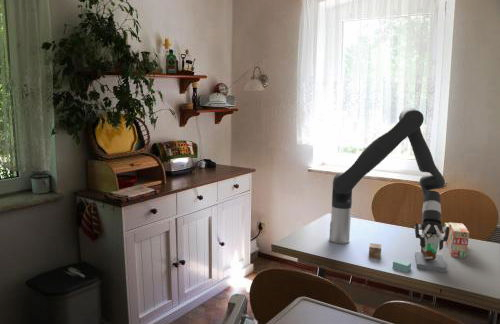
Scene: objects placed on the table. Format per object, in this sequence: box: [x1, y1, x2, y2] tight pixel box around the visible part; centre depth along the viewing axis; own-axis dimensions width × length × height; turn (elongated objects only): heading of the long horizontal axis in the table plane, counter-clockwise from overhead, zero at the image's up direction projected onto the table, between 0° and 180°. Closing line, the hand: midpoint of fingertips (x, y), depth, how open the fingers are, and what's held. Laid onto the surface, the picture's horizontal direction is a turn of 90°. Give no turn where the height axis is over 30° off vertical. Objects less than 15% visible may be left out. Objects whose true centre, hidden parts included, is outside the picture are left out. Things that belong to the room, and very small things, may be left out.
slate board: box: [414, 251, 447, 273], centre depth 176 cm, size 11×14×2 cm
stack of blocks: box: [443, 222, 470, 259], centre depth 193 cm, size 21×6×12 cm, turn 164°
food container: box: [420, 228, 441, 260], centre depth 175 cm, size 12×6×10 cm, turn 169°
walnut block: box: [368, 242, 382, 260], centre depth 183 cm, size 5×5×5 cm
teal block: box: [392, 258, 412, 273], centre depth 171 cm, size 6×4×3 cm, turn 48°
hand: (431, 248), depth 174 cm, fingers closed on food container, 6 cm apart
